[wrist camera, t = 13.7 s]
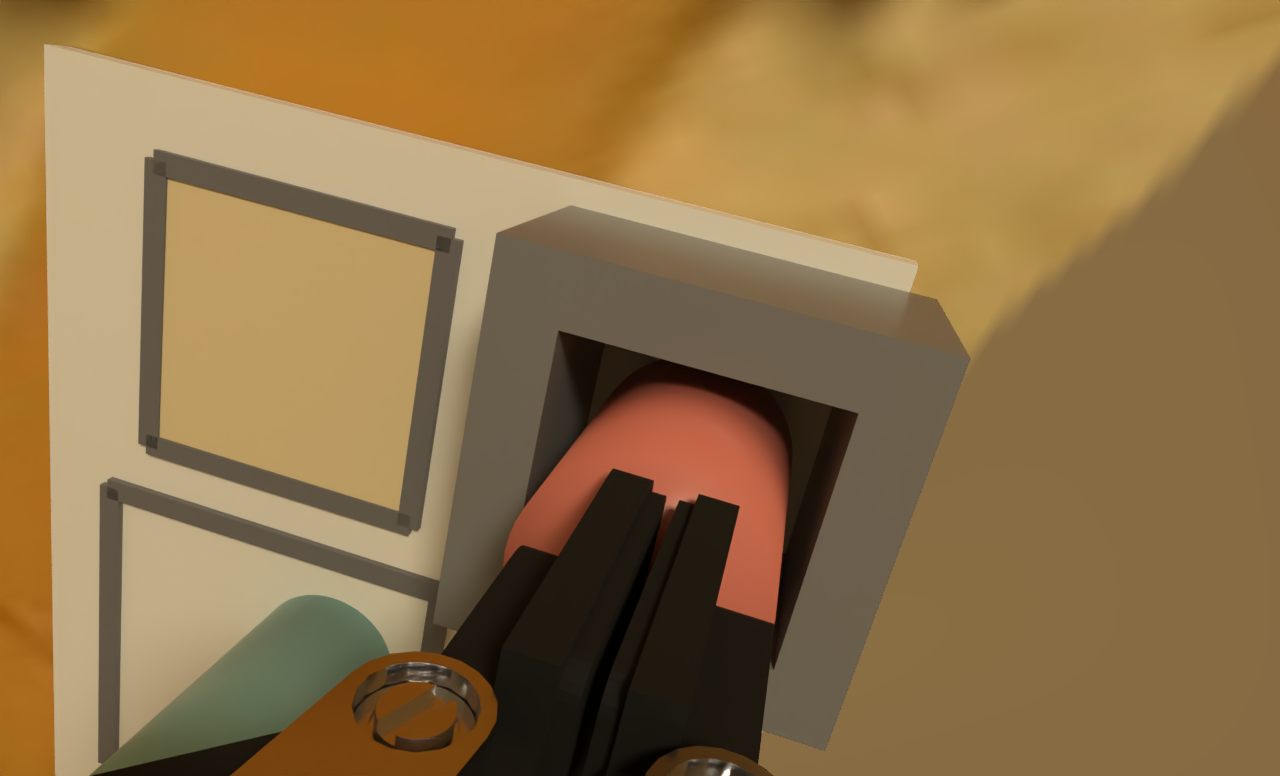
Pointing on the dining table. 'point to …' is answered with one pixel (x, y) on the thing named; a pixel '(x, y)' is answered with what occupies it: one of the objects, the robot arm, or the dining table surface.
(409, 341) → the cream board with squares
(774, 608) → the button
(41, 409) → the dining table surface
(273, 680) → the cylinder
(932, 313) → the button collar
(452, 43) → the dining table surface
